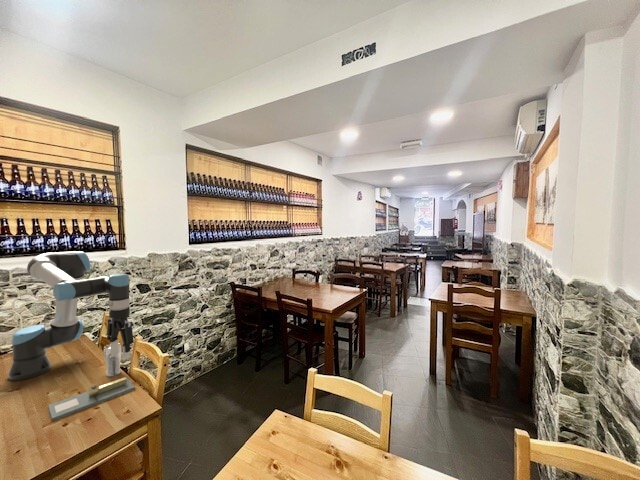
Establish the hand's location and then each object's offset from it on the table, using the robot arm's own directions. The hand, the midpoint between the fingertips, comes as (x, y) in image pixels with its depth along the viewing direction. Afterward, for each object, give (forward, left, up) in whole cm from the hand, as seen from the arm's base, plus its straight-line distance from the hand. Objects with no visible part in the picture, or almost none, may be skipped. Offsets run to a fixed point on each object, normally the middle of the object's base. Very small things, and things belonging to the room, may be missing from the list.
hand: (120, 356), depth 124 cm
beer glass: (-23, +2, -17) cm, 29 cm away
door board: (-5, -9, -17) cm, 20 cm away
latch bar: (-4, -4, -15) cm, 17 cm away
